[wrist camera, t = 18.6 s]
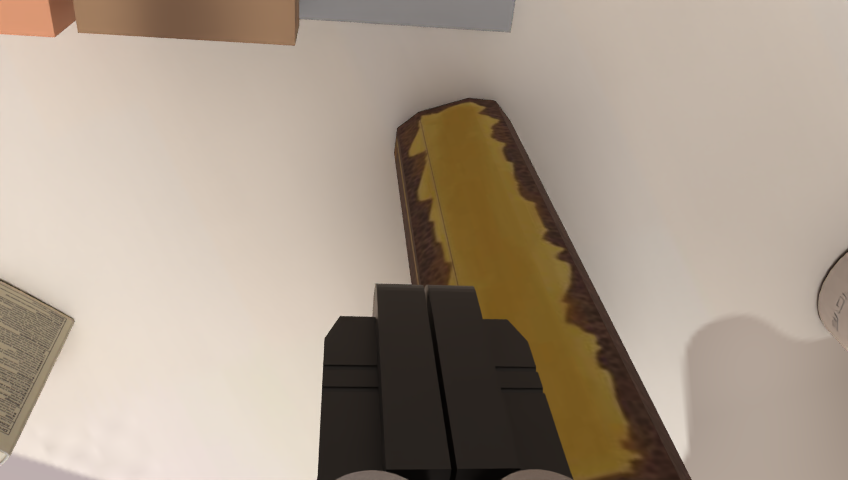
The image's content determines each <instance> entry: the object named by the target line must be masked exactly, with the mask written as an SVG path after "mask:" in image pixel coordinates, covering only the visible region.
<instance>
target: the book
mask: <svg viewBox="0 0 848 480" xmlns="http://www.w3.org/2000/svg"><path fill="white" fill-rule="evenodd" d="M394 155H395V162H396V170H397V178H398V185H399V193H400V200H401V208H402V215H403V223H404V230H405V238H406V245H407V253H408V260H409V268H410V275H411V283H412V285H423V286H424V289H425V286H426V285H455V286H474V288H475V290H476V294H477V298H478V302H479V306H480V309H481V313H482V317H483V319H507V320H508V321H509V322H510V323H511V324H512V325H513V326H514V327H515V328H516V329H517V330H518V331H519V332H520V333H521V335H522V336H523V337H524V338H525V339H526V340H527V341H528V343H529V346H530V349H531V352H532V355H533V359H534V362H535V365H536V372H538V374H539V377H540V380H541V383H542V386H543V393H545V395H546V398H547V401H548V404H549V407H550V410H551V413H552V417H553V420H554V423H555V426H556V429H557V432H558V435H559V438H560V441H561V444H562V447H563V450H564V453H565V456H566V459H567V462H568V465H569V468H570V471H571V474H572V477H573V479H574V480H691V478H690V476H689V474H688V472H687V470H686V468H685V466H684V464H683V462H682V460H681V458H680V456H679V454H678V452H677V450H676V448H675V446H674V444H673V442H672V440H671V438H670V436H669V434H668V432H667V430H666V428H665V426H664V424H663V422H662V420H661V418H660V416H659V414H658V412H657V410H656V408H655V406H654V404H653V402H652V400H651V398H650V396H649V394H648V393H647V391H646V389H645V387H644V385H643V383H642V381H641V379H640V377H639V375H638V373H637V371H636V369H635V367H634V365H633V363H632V361H631V359H630V357H629V355H628V353H627V351H626V349H625V347H624V345H623V343H622V341H621V339H620V337H619V335H618V333H617V331H616V329H615V327H614V325H613V323H612V321H611V319H610V317H609V315H608V313H607V311H606V309H605V307H604V305H603V303H602V302H601V300H600V298H599V296H598V294H597V292H596V290H595V288H594V286H593V284H592V282H591V280H590V278H589V276H588V274H587V272H586V270H585V268H584V266H583V264H582V262H581V260H580V258H579V256H578V254H577V252H576V250H575V248H574V246H573V244H572V242H571V240H570V238H569V236H568V234H567V232H566V230H565V228H564V226H563V224H562V222H561V220H560V218H559V216H558V214H557V213H556V211H555V209H554V207H553V205H552V203H551V201H550V199H549V197H548V195H547V193H546V191H545V189H544V187H543V185H542V183H541V181H540V179H539V177H538V175H537V173H536V171H535V169H534V167H533V165H532V163H531V161H530V159H529V157H528V155H527V153H526V151H525V149H524V147H523V145H522V143H521V141H520V139H519V137H518V135H517V133H516V131H515V129H514V127H513V125H512V123H511V122H510V120H509V119H508V117H507V116H506V115H505V113H504V112H503V111H502V109H501V108H500V107H499V105H498V104H497V103H496V101H493V100H483V99H473V98H467V99H463V100H460V101H456V102H453V103H449V104H446V105H442V106H439V107H435V108H431V109H428V110H424V111H421V112H418V113H417V114H416V115H414V116H413V117H412V118H410V119H409V120H408V121H406V122H405V123H404V124H402V125H401V126H400V127H398V128H397V135H396V143H395V151H394Z"/></svg>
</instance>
